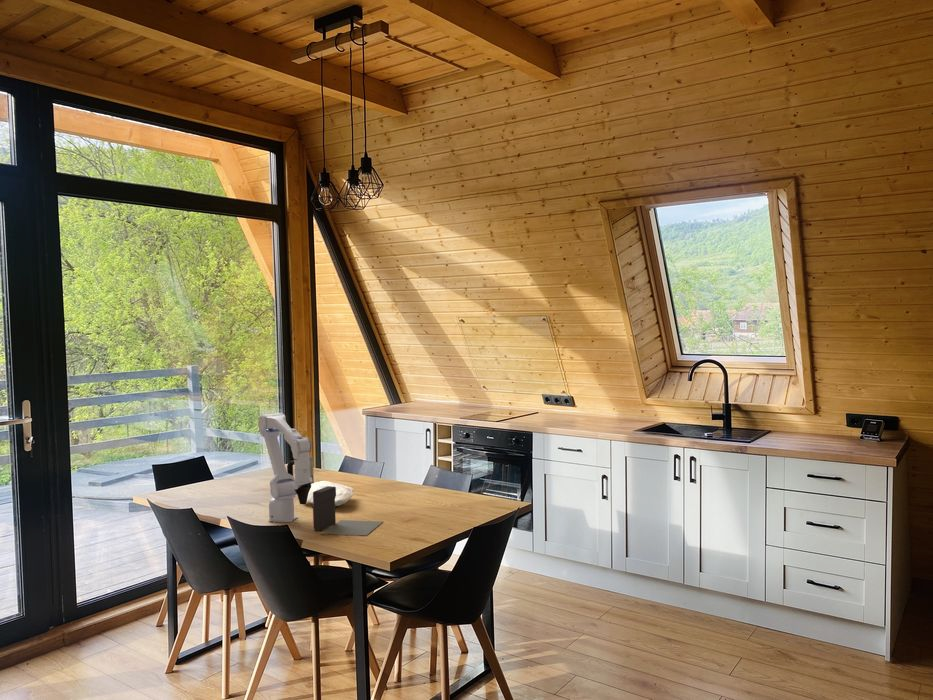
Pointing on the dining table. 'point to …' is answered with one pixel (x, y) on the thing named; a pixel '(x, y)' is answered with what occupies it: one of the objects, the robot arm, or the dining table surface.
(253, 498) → the dining table surface
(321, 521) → the calculator
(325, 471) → the dining table surface
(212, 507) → the dining table surface
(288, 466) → the milk frother
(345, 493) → the crumpled cloth
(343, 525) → the placemat
